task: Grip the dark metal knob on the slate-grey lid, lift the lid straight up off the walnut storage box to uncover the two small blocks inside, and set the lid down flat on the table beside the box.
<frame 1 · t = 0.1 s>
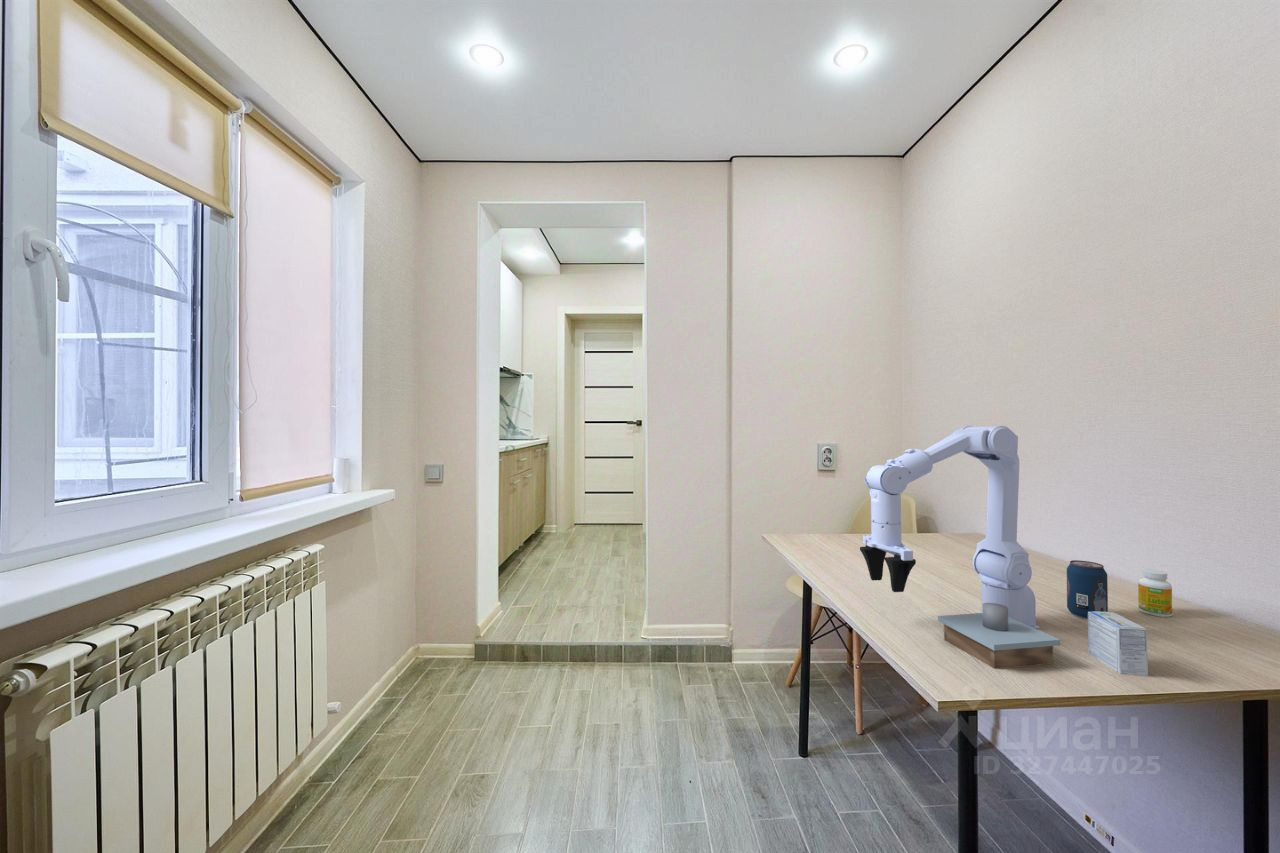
hand: (886, 585, 104), 10 cm above the table, tool pointing down, fingers open, 7 cm apart
soda can: (1087, 616, 112), on the table
terracotta block: (1018, 655, 92), resting on storage box
storage box: (995, 653, 94), on the table
lid: (995, 632, 94), point 4 cm above the table, touching storage box
supplement bottle: (1155, 613, 113), on the table
off-white block: (973, 646, 97), resting on storage box
medicine box: (1116, 667, 89), on the table
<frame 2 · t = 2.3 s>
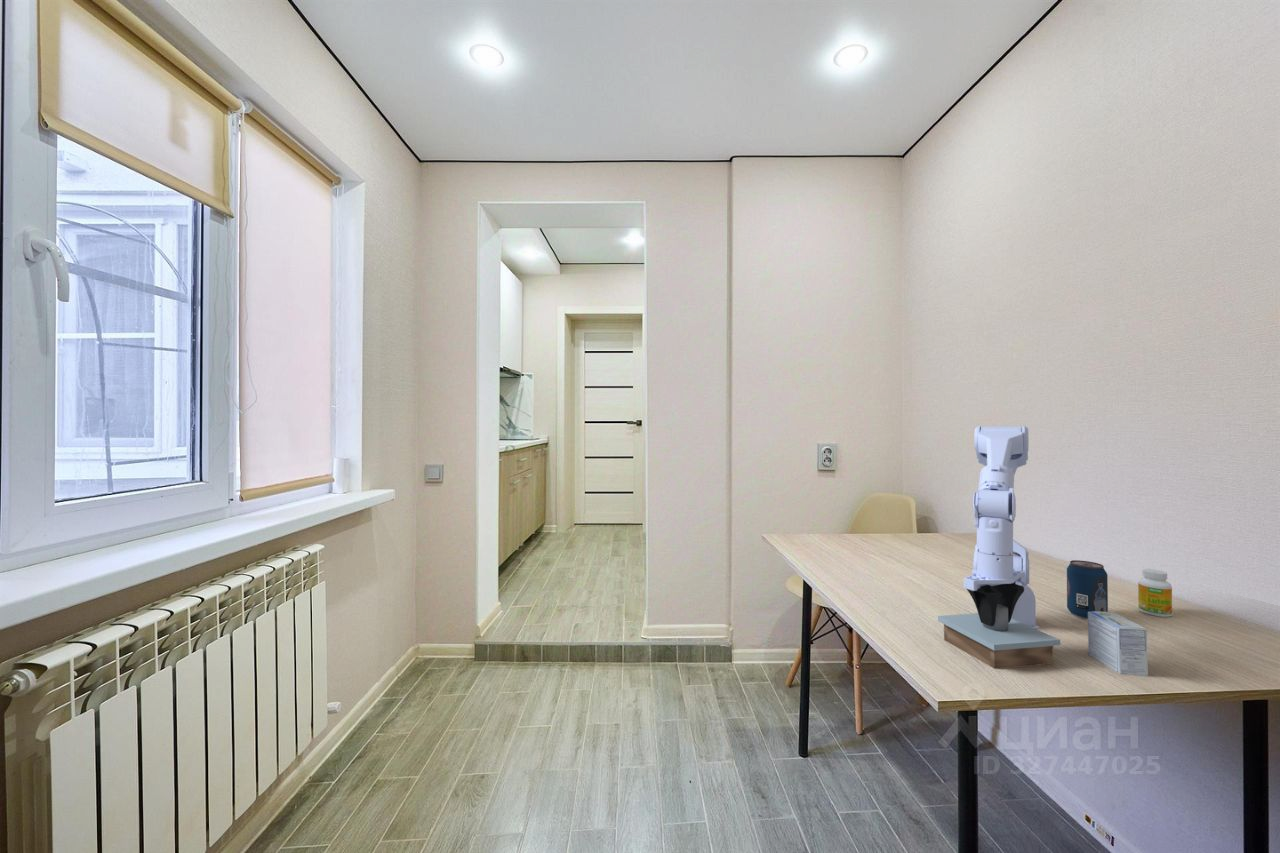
hand: (995, 622, 94), 6 cm above the table, tool pointing down, fingers closed on lid, 4 cm apart
lid: (995, 632, 94), point 4 cm above the table, touching gripper, off-white block, storage box
off-white block: (973, 646, 97), resting on storage box, touching lid
everything else where it was.
when the fingers open (4 cm above the table, at t = 6.8 s): lid drops 1 cm, on the table.
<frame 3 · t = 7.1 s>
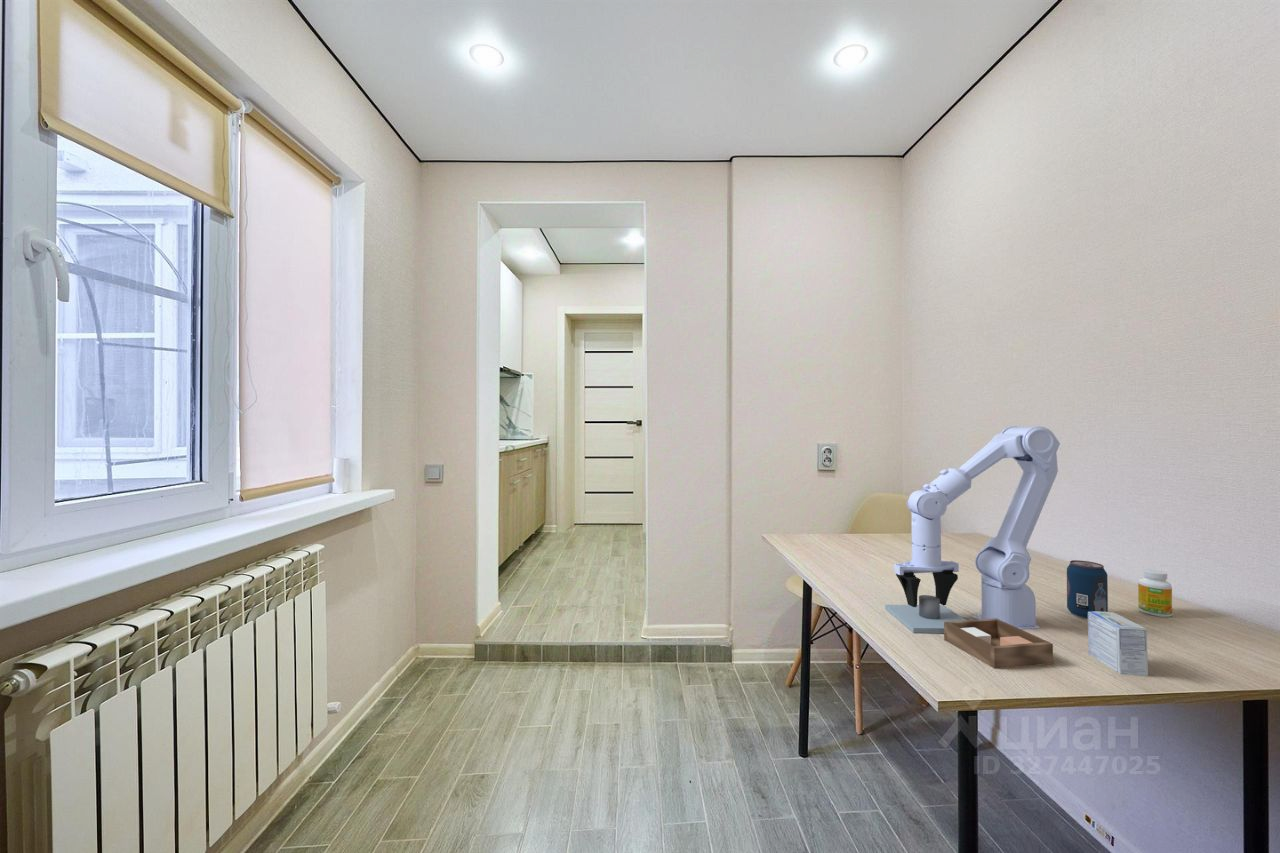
hand: (926, 604, 110), 4 cm above the table, tool pointing down, fingers open, 7 cm apart
lid: (929, 620, 109), on the table
off-white block: (973, 646, 97), resting on storage box
everything else where it was.
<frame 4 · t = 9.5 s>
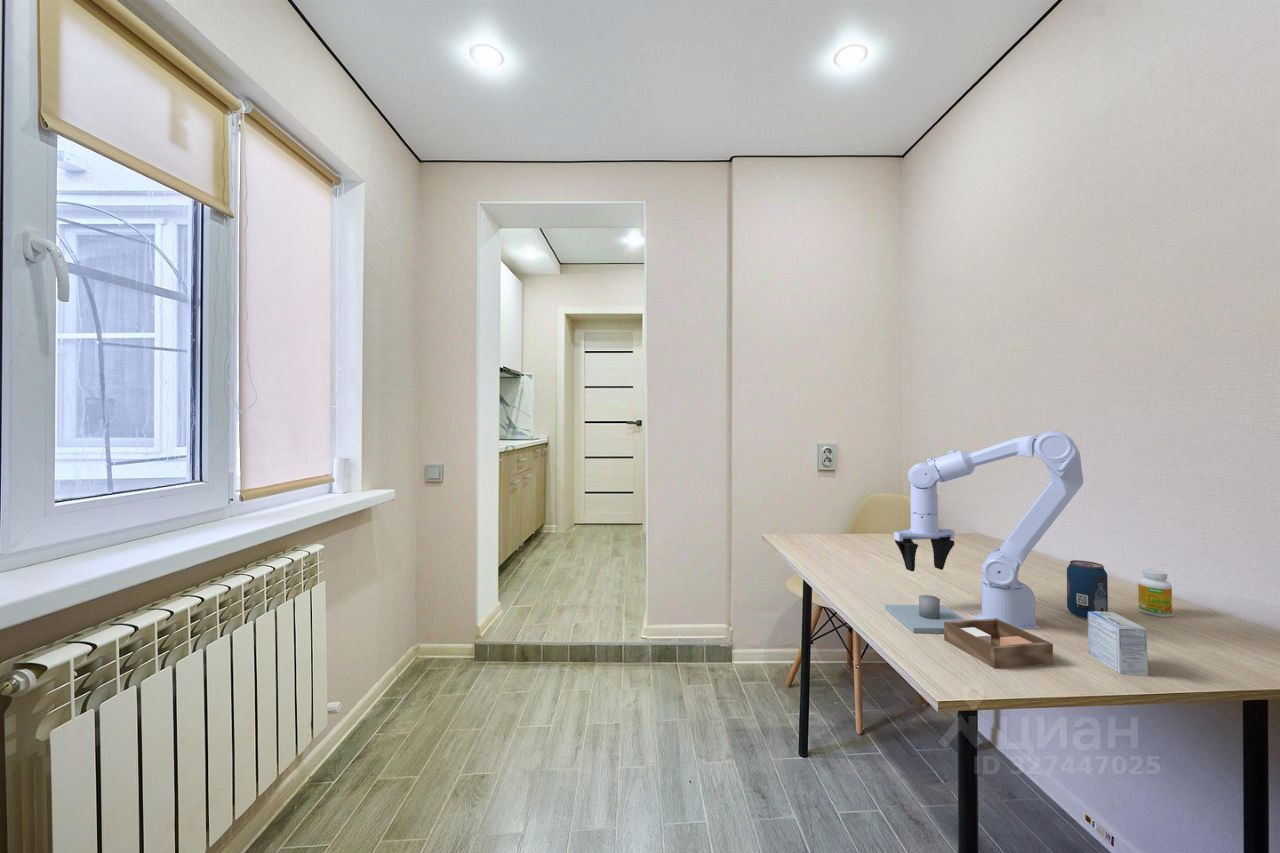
hand: (924, 569, 118), 9 cm above the table, tool pointing down, fingers open, 7 cm apart
nothing on the table moved.
at the end: lid inside the target area (0.8 cm from its centre), point 0.5 cm above the table; lid tilted 0°; lid touching table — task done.
